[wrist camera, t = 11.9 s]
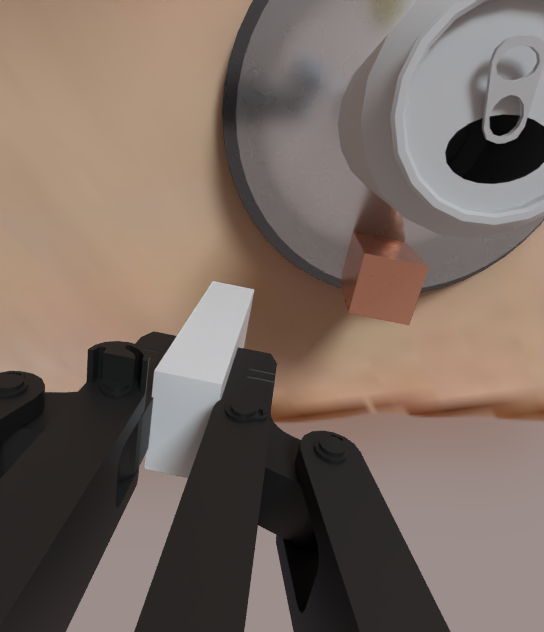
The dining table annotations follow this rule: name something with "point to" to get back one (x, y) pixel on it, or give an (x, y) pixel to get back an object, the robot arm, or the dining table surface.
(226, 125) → the turntable base
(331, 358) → the dining table surface
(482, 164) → the can
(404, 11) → the platter
